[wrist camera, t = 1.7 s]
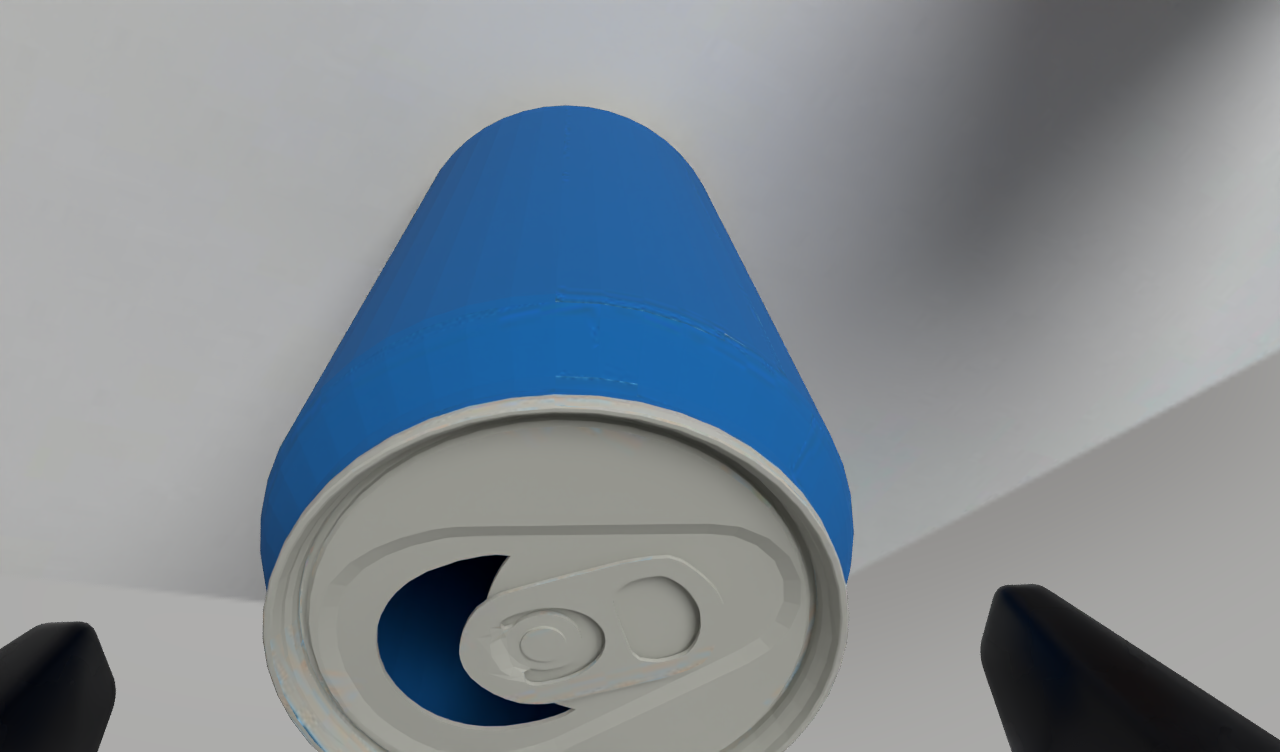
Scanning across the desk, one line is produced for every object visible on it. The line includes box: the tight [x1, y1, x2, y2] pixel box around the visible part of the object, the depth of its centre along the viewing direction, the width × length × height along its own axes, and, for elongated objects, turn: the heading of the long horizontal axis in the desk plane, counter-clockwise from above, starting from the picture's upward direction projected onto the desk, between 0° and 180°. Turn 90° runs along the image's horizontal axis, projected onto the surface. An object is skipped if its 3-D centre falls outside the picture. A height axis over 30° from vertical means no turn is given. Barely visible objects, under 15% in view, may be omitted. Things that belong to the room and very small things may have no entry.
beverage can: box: [260, 106, 854, 752], centre depth 13 cm, size 6×6×12 cm
